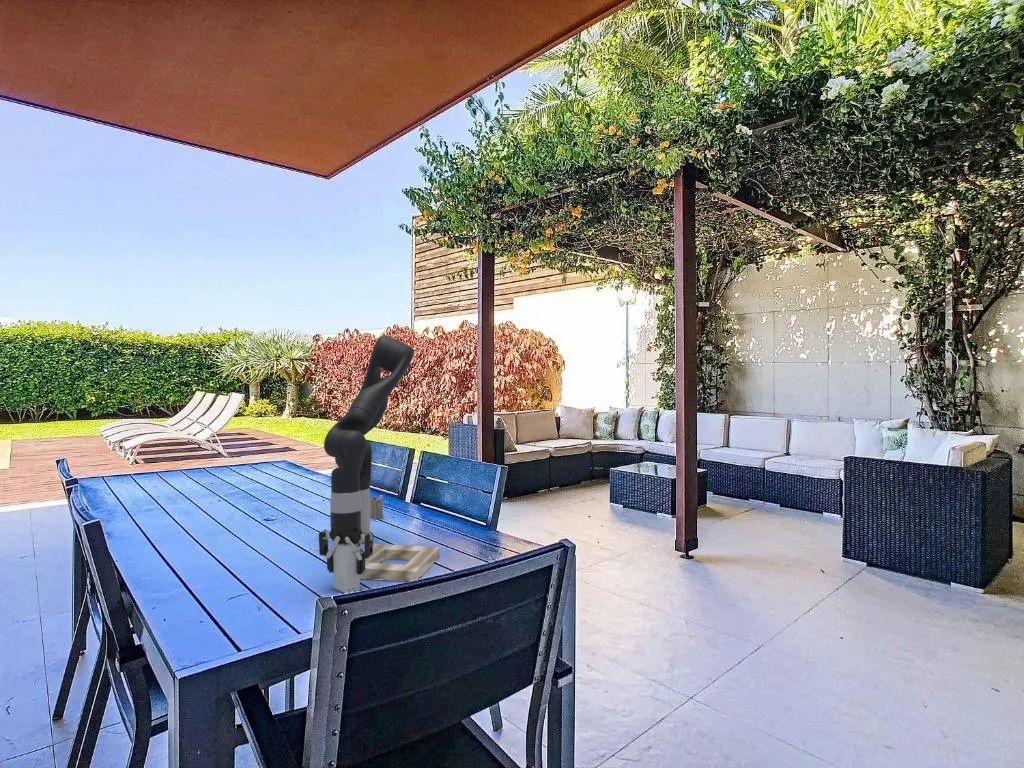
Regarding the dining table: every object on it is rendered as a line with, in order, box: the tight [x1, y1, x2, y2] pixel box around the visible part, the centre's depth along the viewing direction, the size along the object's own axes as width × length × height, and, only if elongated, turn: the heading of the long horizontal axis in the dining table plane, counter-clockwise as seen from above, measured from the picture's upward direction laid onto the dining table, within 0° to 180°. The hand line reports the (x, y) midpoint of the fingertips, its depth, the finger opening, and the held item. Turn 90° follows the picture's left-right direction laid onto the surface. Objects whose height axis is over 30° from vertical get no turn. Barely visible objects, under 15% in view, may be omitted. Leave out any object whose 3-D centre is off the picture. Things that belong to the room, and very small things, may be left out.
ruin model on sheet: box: [370, 494, 384, 521], centre depth 219 cm, size 11×3×10 cm, turn 33°
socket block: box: [359, 543, 440, 583], centre depth 164 cm, size 20×21×3 cm
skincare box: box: [332, 543, 361, 594], centre depth 147 cm, size 6×4×12 cm
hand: (346, 572), depth 147 cm, fingers closed on skincare box, 7 cm apart
